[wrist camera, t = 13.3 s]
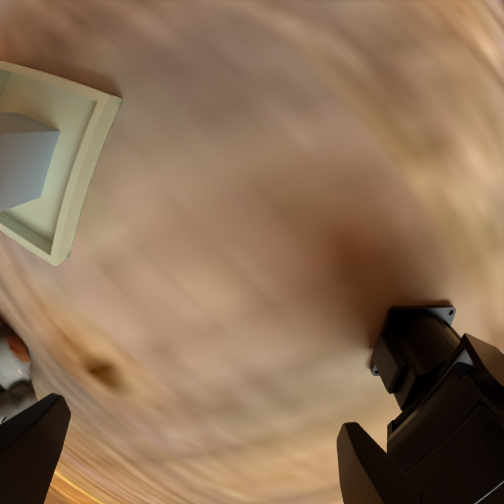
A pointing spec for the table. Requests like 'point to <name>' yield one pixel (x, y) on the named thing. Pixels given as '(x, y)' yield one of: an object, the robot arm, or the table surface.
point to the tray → (56, 154)
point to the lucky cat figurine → (14, 375)
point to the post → (23, 158)
